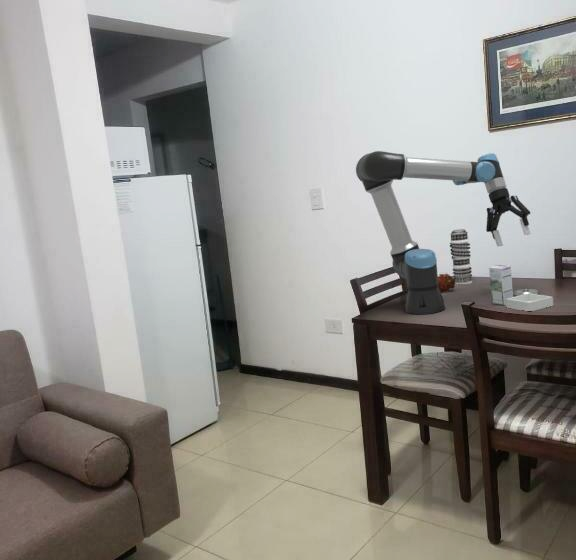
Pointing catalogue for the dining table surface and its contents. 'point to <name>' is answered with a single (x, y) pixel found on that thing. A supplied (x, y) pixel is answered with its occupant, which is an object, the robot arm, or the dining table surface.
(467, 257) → the decorative candle
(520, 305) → the tray
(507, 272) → the syrup box
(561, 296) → the dining table surface
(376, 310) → the dining table surface
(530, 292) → the desk bell
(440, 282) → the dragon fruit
